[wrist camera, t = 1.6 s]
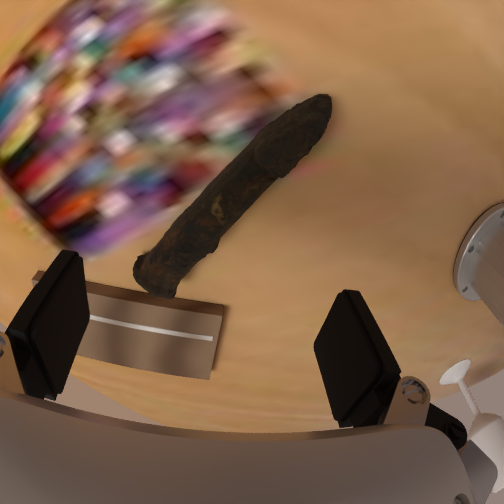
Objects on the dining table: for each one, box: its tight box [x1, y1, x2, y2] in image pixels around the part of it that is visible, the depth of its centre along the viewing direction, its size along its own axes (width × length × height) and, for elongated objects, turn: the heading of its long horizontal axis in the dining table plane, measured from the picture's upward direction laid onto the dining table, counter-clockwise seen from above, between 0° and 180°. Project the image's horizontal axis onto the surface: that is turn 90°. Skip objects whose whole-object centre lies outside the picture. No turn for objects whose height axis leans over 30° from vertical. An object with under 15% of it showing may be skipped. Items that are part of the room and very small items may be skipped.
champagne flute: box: [440, 359, 504, 493], centre depth 29 cm, size 7×7×24 cm
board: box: [32, 271, 223, 380], centre depth 28 cm, size 19×10×2 cm, turn 78°
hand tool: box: [133, 94, 332, 299], centre depth 20 cm, size 19×4×5 cm, turn 135°
